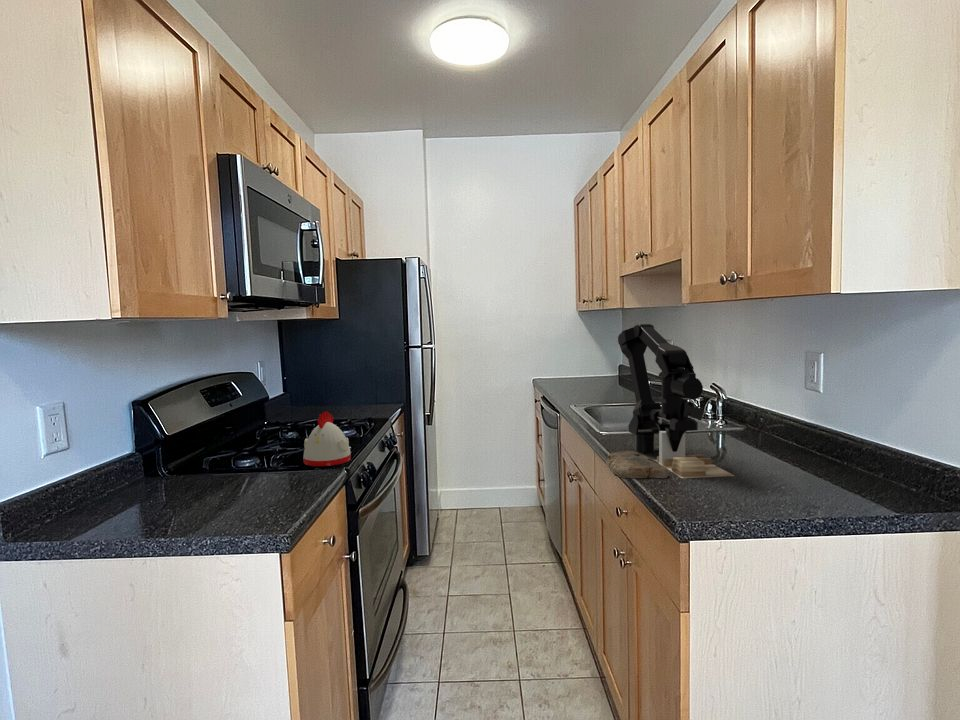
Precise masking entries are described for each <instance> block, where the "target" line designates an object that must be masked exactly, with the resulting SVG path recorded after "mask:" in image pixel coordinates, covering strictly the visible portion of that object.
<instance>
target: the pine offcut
mask: <svg viewBox="0 0 960 720" xmlns="http://www.w3.org/2000/svg"><path fill="white" fill-rule="evenodd" d="M673 462H674V463H675V464H677V465H679V466H680V467H699V466H704V461H702V460H700V459H698V458H697V457H675V458H673Z"/></svg>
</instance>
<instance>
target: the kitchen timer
mask: <svg viewBox="0 0 960 720" xmlns="http://www.w3.org/2000/svg"><path fill="white" fill-rule="evenodd" d="M316 420H317V426H316V427H314V429H313V430H312V431H311V433H310V434H309V436H308V438H305V439H304V443H303V446H304V450H303V464H304V465H307V466H310V467H330V466H337V465H342V464H345V463H348V462H349V461H351V458H352V457H351V456H352V455H351V449H350V445H349V444H350V441H349V438H348V437H346V435H345V434H344V432H343V431H342V429H340V427H339V426H337V425H336V424H334V423H333V422H334V416H332V413H329V411H325V412H322V413H319V418H317V419H316Z"/></svg>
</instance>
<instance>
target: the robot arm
mask: <svg viewBox="0 0 960 720" xmlns="http://www.w3.org/2000/svg"><path fill="white" fill-rule="evenodd" d="M617 343H618V345H619V349H620V351H621V352H622V354H623V356H624V357H626V358H627V361H628V365H629V370H630V375H631V380H632V381H631V382H632V386H633V392H634V397H635V402H636V403H635V405H634V408H633V411H632V418H631V420H630V422H629V424H628V425H627V426H628V427H627V428H628V432H629V433H630V434H632V435H635V445H634V446H635V450H634V451H636V452H637V453H643V454H654V453H655V451H656V449H655V448H656V447H655V446H656V444H655V443H656V442H655V441H656V438H655V437H656V434H659V431H666V433H667V436H668V439H669V442H670V445H671V448H672V451H673V452H677V450H678V447H679V444H680V441H681V438H682V436H683V434H684V433H685V434H686V432H687V431H691V432H692V431H693V432H694V431H698V429H699V422H702V420H703V418H704V414H705V411H706V410H705V409H702V408H699V407H696V406H695V404H694V402H691V401H689V400H696V399H698V398H700V397H701V395H702V394H703V391H704V386H703V384H702V381H701V380H700V379H698V378H697V377H696V376H697V374H696V373H695V370H694V369H695V367H694V366H693V364H692V362H691V360H690V358H689V355H688V353H687V351H686V350H685V349H683V348H682V347H680V346H678V345H674V344H671V343H670V342H668V341H667V340H666V339H665V338H664V337H663V336H662V335H661V334H660V333H659V331H657V330H656V329H655V327H654V325H653V324H650V323H639V324H636V325H634V326H633V327H630V328H628V329H625V330H622V331H621V333H619V335H618V336H617ZM647 348H648V349H649V350H650V351H651V352H652V353H653V354H654V356H655V360H654V361H655V363H656V365H657V366H658V368H659V369H660V370H661V371H660V372H659V374H658V377H659V378H661V397H659V396H658V402H656V401H655V400H654V399H653V395H652V390H651V386H650V379H649V376H648V375H649V374H648V370H647V365H646V359H645V353H646V350H647ZM687 399H688V400H687ZM660 402H661V403H660ZM698 421H699V422H698Z"/></svg>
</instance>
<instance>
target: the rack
mask: <svg viewBox="0 0 960 720" xmlns="http://www.w3.org/2000/svg"><path fill="white" fill-rule="evenodd" d="M685 457H697V458H698V459H700V460H702V461H704V466H705V471H706V476H691V477H681V476H679V475H678V474H676V473H675V472H673V471H672V462H673V460H663V465H662V464H660V463H659V455H658V456H656V459H654V460H655V461H656V462H657V463H659V464H660V465H661V466H664V467H666V469H667V471H670V473H673V474H675V475H676V476H678V477H679V478H681V479H694V478H695V479H697V478H715V477H716V478H720V477H735V475H734V474H732V473H731V472H729V471H726V470H725V469H723V468H721V467H718V466H717V465H715V464H713V463H712V462H713V461H712V460H713V458H711V457H706V455H705V454H685Z"/></svg>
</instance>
